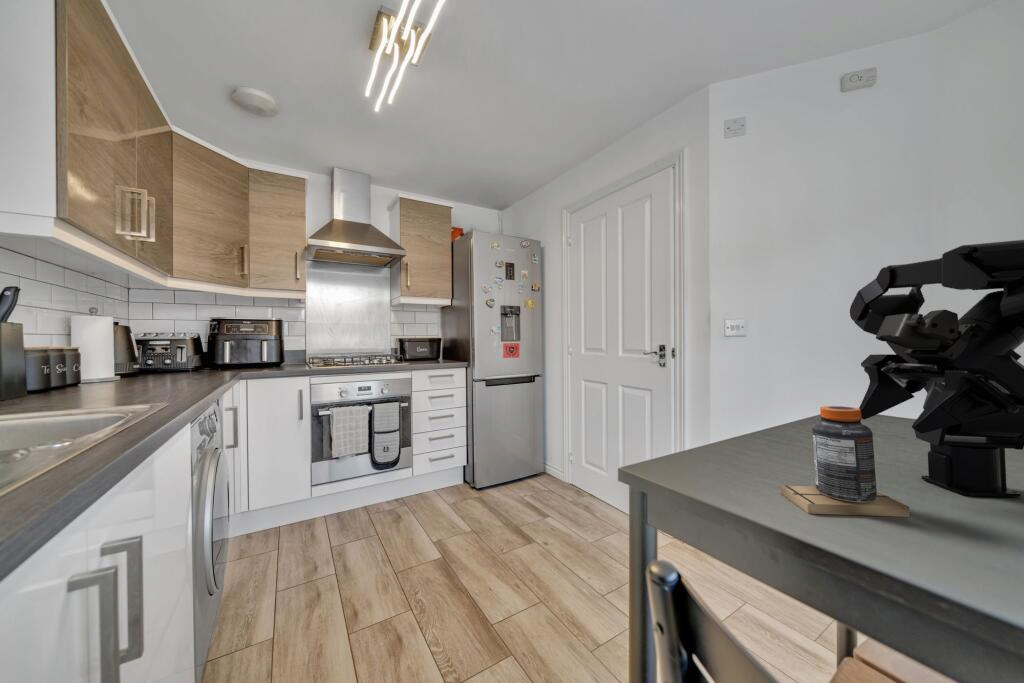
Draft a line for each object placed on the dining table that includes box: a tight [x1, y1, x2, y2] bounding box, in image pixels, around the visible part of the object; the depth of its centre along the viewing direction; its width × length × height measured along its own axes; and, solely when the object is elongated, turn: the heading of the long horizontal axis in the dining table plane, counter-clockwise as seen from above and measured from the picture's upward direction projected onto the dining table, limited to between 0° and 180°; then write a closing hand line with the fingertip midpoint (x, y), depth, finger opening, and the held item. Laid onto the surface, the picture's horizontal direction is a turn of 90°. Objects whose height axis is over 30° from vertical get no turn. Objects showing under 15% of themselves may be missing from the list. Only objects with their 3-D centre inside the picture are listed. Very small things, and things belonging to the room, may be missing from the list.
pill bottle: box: [811, 405, 878, 503], centre depth 49 cm, size 6×6×11 cm
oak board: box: [779, 485, 911, 518], centre depth 48 cm, size 11×6×1 cm, turn 81°
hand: (885, 423), depth 48 cm, fingers open, 9 cm apart
